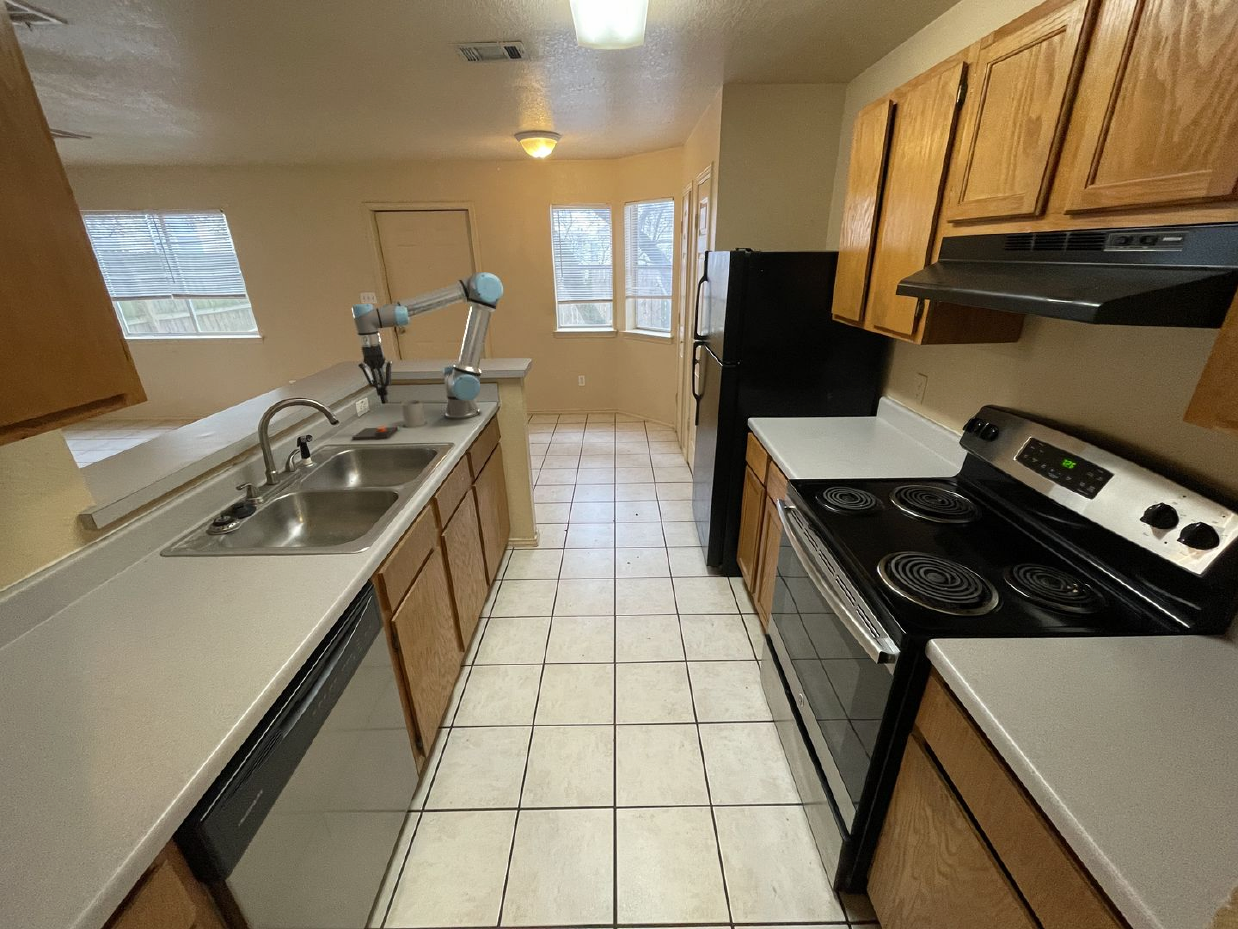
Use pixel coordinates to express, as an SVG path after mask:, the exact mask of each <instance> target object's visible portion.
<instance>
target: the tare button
mask: <svg viewBox="0 0 1238 929" xmlns="http://www.w3.org/2000/svg"><path fill="white" fill-rule="evenodd" d="M386 427H387V426H379V427H377V428H378V432H384V431H386Z"/></svg>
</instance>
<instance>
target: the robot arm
mask: <svg viewBox="0 0 1238 929" xmlns="http://www.w3.org/2000/svg"><path fill="white" fill-rule="evenodd" d="M503 293H504V287H503V283H502V281H501V280H500V278H499V277H498V276H497V275H495V274H493V273H491V272H486V271H485V272H484V271H483V272H480V271H479V272H475V273H472V274H471V275H469V276H466V277H463V278H461V279H459V280H458V279H457V280H456V282H455V283H454V284H450V285H447V286H443V287H441V288H437V289H435V290H431V291H428V292H424V293H421V294H418V295H415V296H411V297H409V298H405V299H402V300H399V301H396V302H392V303H390V304H389V303H387V304H384V305H382V306H380V307H374V305H373V304H372V303H357V304H353V305H352V307H351V311H352V316H353V317H352V318H353V321H354V325H355V328H356V333H357V336H358V342H359V345H360V346H361V347H360V350H361V353H362V356H363V359H362V362H361V363H359V364H358V365H357V366H358V367H359V368H360V369H361V370H362V373H363V374H364V376H365V378H366V380H367V382H368V384H369V386H370V387H371V388H375V391H376V394H377V396H378V397H379V398H380V401H381V404H382V405H385V404H387V403H388V402H389V400H388V395H389V390H388V386H390V385H391V384H392V366H393V363H394V361H392V360H388V359H387V358H386V356H385V353H384V349H383V345H382V344H381V343H382V340H381V336H380V332H379V329H384V328H395V327H396V328H397V327H406V326H409V324H410V319H411V318H415V317H418V316H421V315H425V314H427V313H431V312H433V311H438V310H440V309H444V308H446V307H451V306H452V305H456V304H459V303H464V304H467V303H468V305H469V306H470V309H469V312H468V318H467V322H466V325H465V326H466V327H465V331H464V336H463V341H462V345H461V350H460V354H459V358H458V362H457V363H455V364H453V365H449V366H444V367H443V368H442V376H443V381H444V386H445V393H446V398H447V399H446V400H447V401H446V407H445V417H446V418H448V419H451V420H452V419H454V420H461V419H468V418H473V417H476V416H478V415H481V414H482V413H481V412H480V408H479V405H478V403H477V402H476V398H478V396H479V394H480V391H481V383H480V380H481V375H482V371H481V369H480V364H481V360H482V355H483V351H484V346H485V342H486V338H487V333H488V329H489V325H490V320H491V315H492V313H493V312H495V311H496V310H497V307H498V302H499V301H500V300H501V298H502V296H503ZM384 365H385V372H384ZM368 368H369V369H368Z"/></svg>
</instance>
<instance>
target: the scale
mask: <svg viewBox="0 0 1238 929" xmlns="http://www.w3.org/2000/svg"><path fill="white" fill-rule="evenodd" d="M385 427H386V431H384V432H378V428H379V427H364V428H363V429H362V430H360V431H359V432H357V433H356V434H354V436H352V441H364V440H365V441H369V440H373V441H374V440H388V439H389V438H390V437H391V436H392V435H394V434H395V433H396V432H397V431H398V430H399V427H398V426H385Z"/></svg>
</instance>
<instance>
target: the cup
mask: <svg viewBox="0 0 1238 929" xmlns="http://www.w3.org/2000/svg"><path fill="white" fill-rule="evenodd" d="M400 406H401V411H402V416H403V421H404V426H405V427H406V428H417V427H421V426H424V425H425V424H426V421H425V416H424V411H423V404H422V401H421V400H419V399H411V400H405V401H403V402H401V403H400Z"/></svg>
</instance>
